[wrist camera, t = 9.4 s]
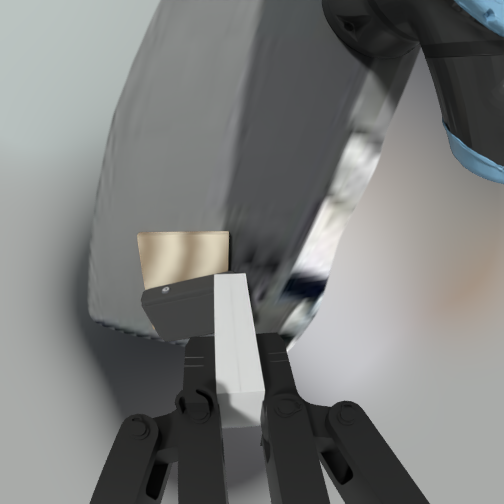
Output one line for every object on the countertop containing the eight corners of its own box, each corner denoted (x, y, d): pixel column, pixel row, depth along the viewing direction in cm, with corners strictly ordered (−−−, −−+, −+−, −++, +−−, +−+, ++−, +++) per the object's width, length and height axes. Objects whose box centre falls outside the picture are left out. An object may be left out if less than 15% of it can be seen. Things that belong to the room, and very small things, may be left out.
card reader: (234, 264, 42) (142, 286, 42) (236, 280, 39) (137, 302, 39) (248, 310, 47) (164, 327, 47) (251, 326, 43) (161, 344, 43)
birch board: (228, 231, 41) (228, 234, 40) (226, 325, 49) (227, 328, 48) (138, 232, 39) (137, 235, 38) (153, 325, 47) (153, 329, 46)
